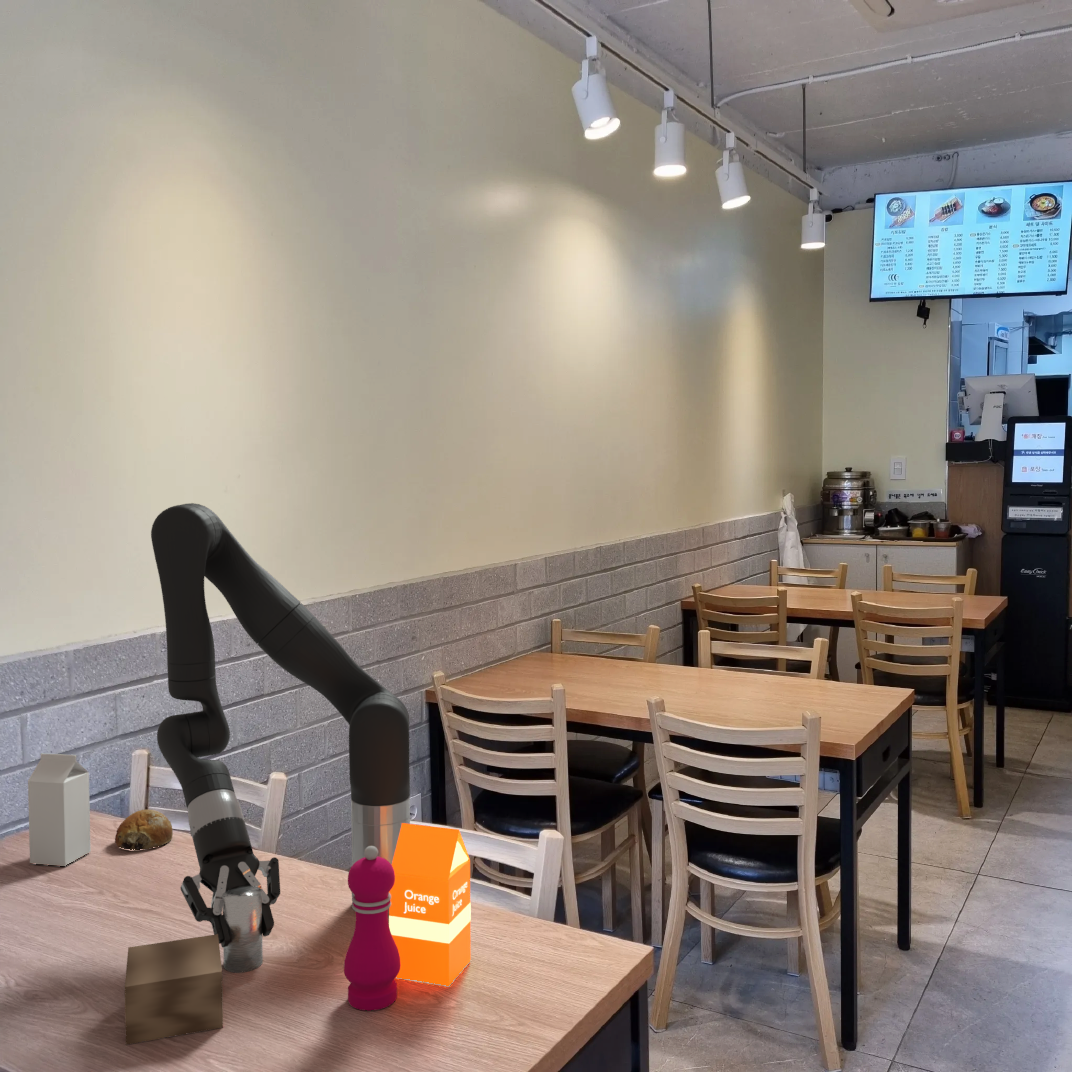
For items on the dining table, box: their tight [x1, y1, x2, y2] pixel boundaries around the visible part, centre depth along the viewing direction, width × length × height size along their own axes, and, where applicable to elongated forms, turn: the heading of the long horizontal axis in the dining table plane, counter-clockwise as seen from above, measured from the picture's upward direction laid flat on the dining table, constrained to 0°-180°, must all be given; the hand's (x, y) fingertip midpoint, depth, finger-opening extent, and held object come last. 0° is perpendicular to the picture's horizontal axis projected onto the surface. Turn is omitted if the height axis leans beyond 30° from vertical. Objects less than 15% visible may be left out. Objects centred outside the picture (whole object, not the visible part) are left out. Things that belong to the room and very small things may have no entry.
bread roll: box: [114, 809, 174, 850], centre depth 187 cm, size 10×10×8 cm
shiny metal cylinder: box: [222, 885, 264, 973], centre depth 138 cm, size 5×5×10 cm
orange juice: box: [388, 823, 472, 986], centre depth 136 cm, size 8×9×20 cm
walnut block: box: [124, 934, 224, 1045], centre depth 125 cm, size 11×11×7 cm
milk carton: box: [27, 753, 91, 867], centre depth 178 cm, size 7×7×19 cm
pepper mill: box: [343, 846, 401, 1012], centre depth 128 cm, size 7×7×20 cm
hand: (247, 938), depth 137 cm, fingers closed on shiny metal cylinder, 5 cm apart
